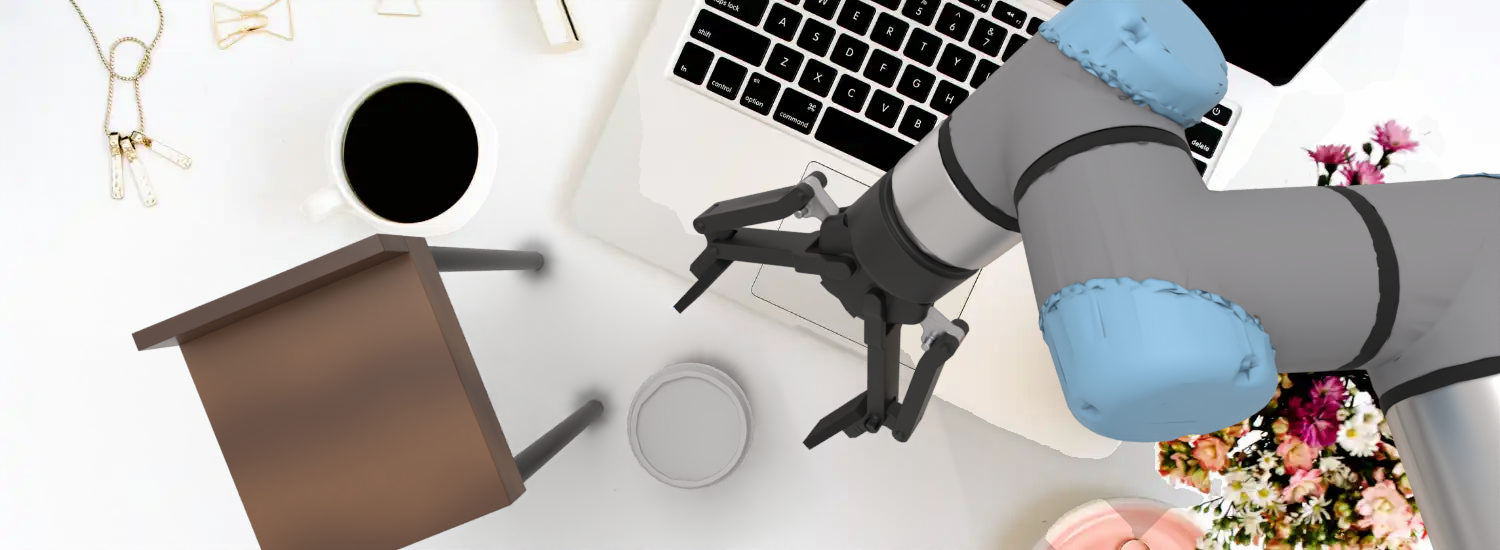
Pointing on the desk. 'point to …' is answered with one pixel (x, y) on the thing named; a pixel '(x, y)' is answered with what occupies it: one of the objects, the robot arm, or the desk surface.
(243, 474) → the desk shelf
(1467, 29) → the desk surface
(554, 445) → the shelf legs
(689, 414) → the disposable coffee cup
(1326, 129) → the desk surface
